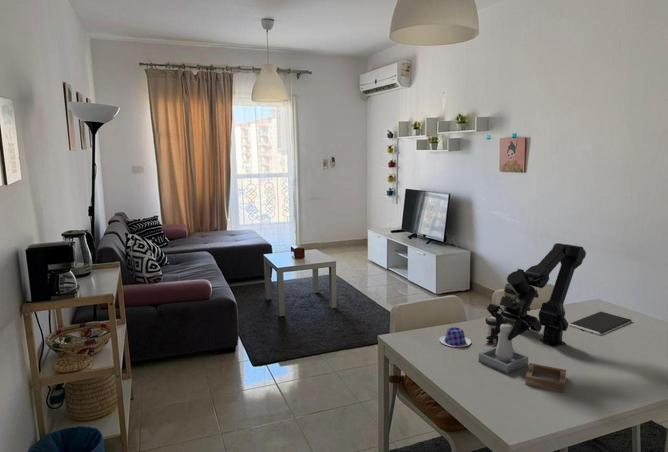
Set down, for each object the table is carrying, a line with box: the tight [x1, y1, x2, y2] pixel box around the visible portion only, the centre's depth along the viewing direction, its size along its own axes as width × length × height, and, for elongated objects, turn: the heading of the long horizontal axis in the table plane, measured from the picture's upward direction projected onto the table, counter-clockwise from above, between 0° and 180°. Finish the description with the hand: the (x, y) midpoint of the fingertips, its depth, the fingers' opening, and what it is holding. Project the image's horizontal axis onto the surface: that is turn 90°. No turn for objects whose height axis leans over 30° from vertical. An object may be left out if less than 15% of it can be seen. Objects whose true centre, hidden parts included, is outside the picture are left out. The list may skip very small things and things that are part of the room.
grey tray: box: [478, 346, 529, 375], centre depth 160 cm, size 12×12×3 cm
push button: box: [483, 315, 500, 345], centre depth 177 cm, size 7×5×10 cm
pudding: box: [438, 326, 472, 348], centre depth 178 cm, size 12×12×5 cm
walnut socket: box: [524, 362, 567, 393], centre depth 147 cm, size 11×11×2 cm
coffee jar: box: [503, 282, 528, 327], centre depth 191 cm, size 10×8×19 cm
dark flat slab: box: [568, 311, 632, 337], centre depth 196 cm, size 13×27×2 cm, turn 123°
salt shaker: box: [495, 324, 514, 363], centre depth 159 cm, size 6×6×13 cm
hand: (501, 337), depth 158 cm, fingers open, 5 cm apart
